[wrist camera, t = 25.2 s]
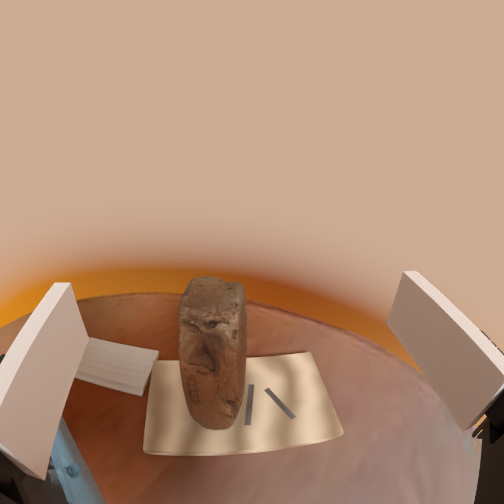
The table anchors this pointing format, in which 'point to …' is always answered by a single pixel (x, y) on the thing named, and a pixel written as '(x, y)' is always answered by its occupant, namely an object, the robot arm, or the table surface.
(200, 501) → the table surface
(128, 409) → the table surface
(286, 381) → the board
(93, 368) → the baseboard
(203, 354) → the block
